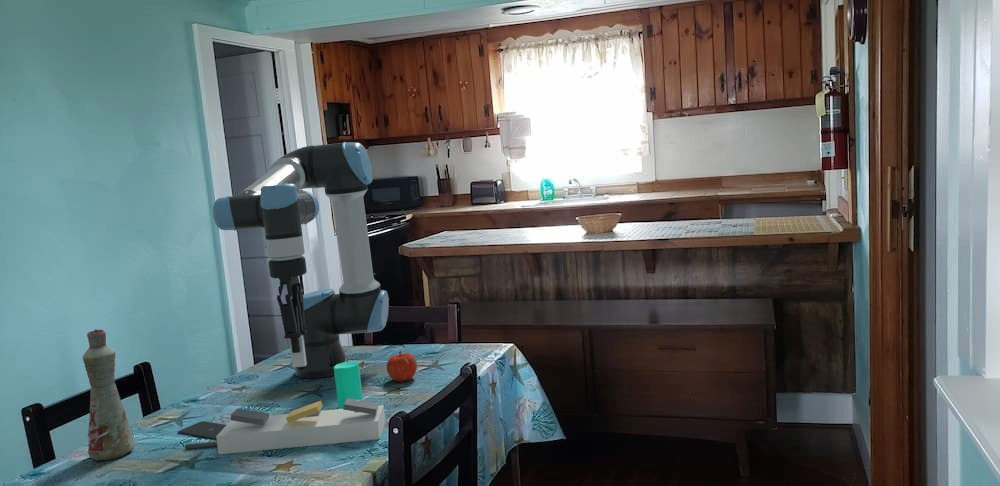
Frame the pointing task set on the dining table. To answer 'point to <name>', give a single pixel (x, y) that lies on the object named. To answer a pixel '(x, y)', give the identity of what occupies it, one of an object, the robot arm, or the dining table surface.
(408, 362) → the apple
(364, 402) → the block
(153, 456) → the dining table surface
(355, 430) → the power strip
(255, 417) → the block
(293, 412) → the rocker
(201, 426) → the smartphone
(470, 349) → the dining table surface
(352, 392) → the candle
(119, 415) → the bottle
